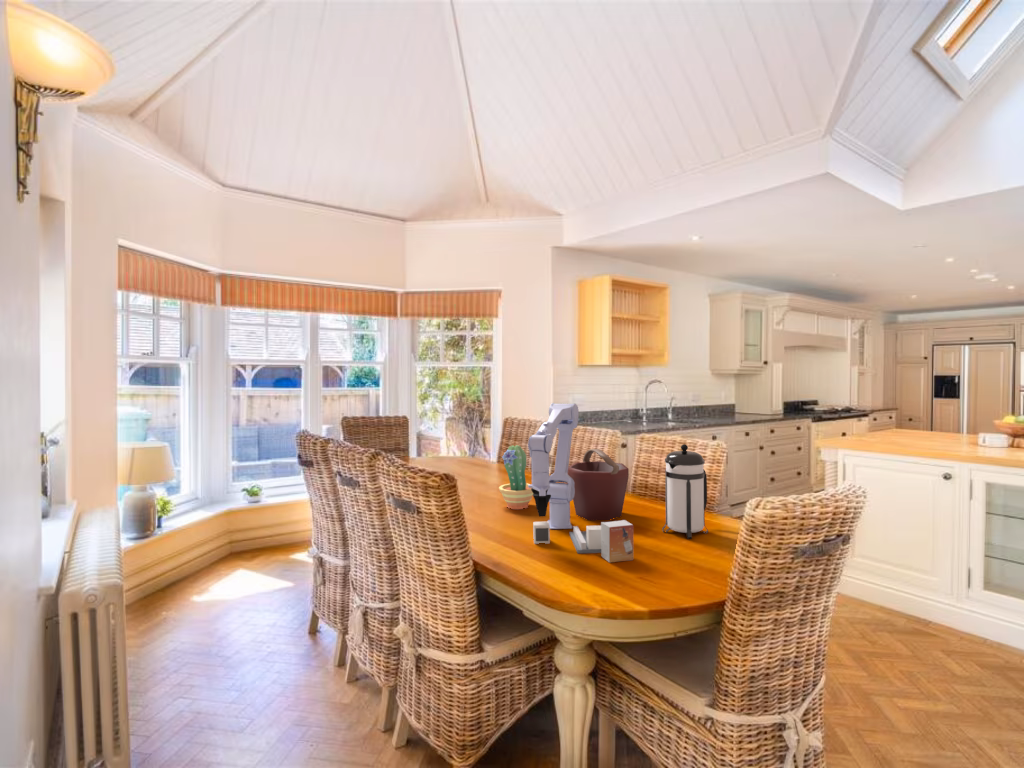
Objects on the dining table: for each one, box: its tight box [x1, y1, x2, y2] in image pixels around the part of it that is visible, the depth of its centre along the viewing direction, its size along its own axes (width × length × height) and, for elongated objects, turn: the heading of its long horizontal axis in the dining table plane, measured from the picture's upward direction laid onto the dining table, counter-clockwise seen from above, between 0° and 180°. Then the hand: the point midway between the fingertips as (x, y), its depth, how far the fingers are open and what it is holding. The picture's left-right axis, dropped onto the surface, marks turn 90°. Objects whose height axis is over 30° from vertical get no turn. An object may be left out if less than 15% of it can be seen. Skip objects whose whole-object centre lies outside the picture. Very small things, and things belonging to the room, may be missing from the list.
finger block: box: [532, 520, 551, 545], centre depth 171 cm, size 4×5×6 cm
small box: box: [600, 519, 634, 563], centre depth 155 cm, size 8×6×10 cm
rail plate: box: [569, 524, 601, 554], centre depth 169 cm, size 18×12×7 cm, turn 2°
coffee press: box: [661, 443, 709, 540], centre depth 179 cm, size 17×16×30 cm
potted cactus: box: [498, 444, 533, 510], centre depth 215 cm, size 15×15×25 cm
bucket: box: [568, 448, 630, 521], centre depth 201 cm, size 24×22×25 cm
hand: (541, 512), depth 171 cm, fingers open, 7 cm apart
